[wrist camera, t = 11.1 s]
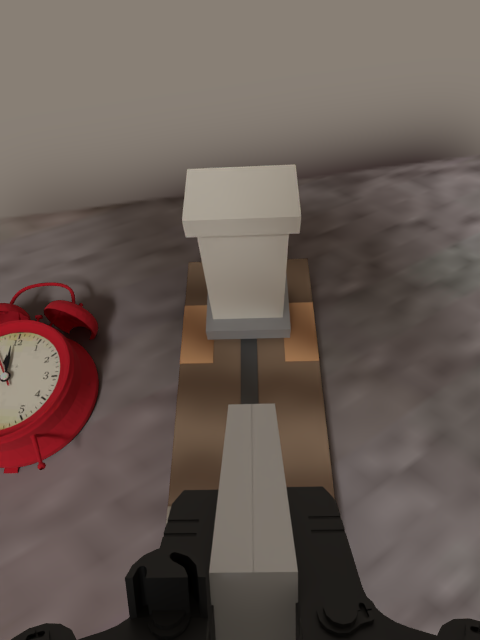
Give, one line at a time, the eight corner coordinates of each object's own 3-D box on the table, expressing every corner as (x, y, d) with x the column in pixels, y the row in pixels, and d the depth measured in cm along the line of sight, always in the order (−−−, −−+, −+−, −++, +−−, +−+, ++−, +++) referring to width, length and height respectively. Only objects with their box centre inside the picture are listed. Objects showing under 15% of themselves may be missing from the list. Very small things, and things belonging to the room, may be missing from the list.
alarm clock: (-106, 478, 25) (-58, 258, 30) (-37, 475, 31) (-6, 291, 36) (62, 472, 25) (83, 250, 30) (100, 470, 31) (112, 285, 36)
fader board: (341, 606, 23) (347, 608, 22) (166, 605, 24) (158, 608, 22) (305, 273, 36) (307, 257, 34) (192, 276, 37) (188, 261, 35)
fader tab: (289, 337, 30) (302, 223, 20) (207, 339, 30) (181, 228, 21) (285, 282, 33) (294, 158, 23) (210, 285, 33) (187, 163, 23)
